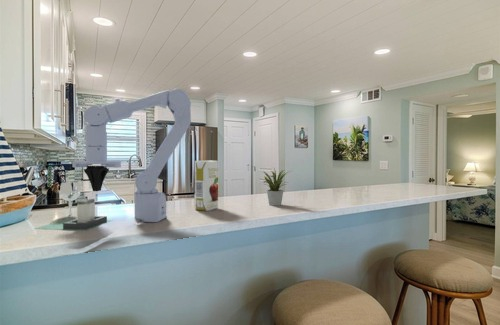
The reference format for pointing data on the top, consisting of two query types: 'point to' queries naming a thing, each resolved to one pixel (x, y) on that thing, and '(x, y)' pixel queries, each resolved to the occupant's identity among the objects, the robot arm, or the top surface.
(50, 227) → the circuit board
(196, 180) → the juice carton
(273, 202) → the house plant
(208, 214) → the top surface
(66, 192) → the wineglass
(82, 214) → the plug
